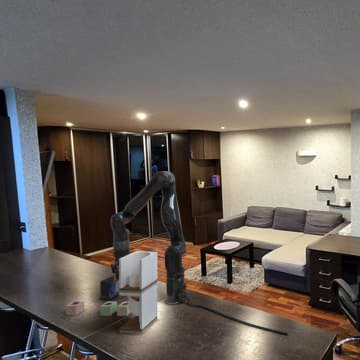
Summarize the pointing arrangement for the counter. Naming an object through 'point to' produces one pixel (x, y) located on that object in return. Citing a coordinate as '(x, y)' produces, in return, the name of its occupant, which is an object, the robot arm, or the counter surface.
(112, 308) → the sage block
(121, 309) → the cream block
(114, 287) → the small box
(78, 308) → the blush block
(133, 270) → the white shelf unit
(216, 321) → the counter surface
